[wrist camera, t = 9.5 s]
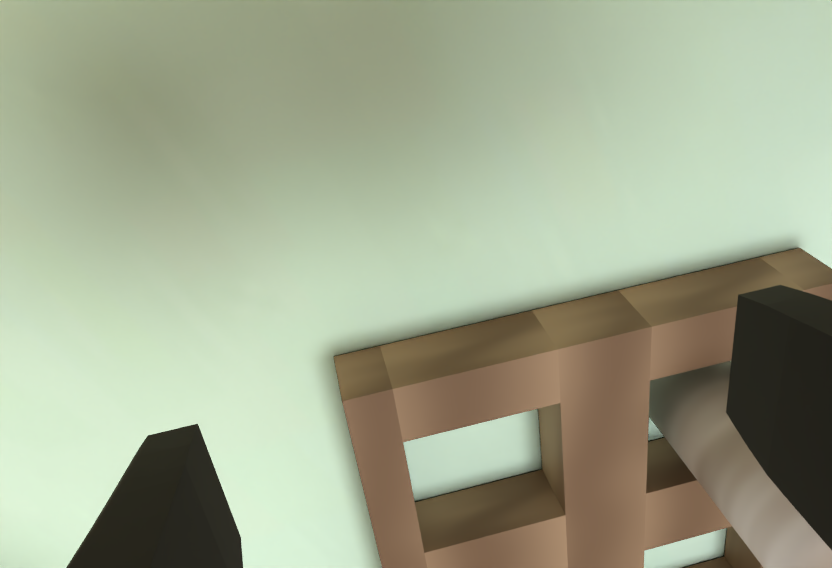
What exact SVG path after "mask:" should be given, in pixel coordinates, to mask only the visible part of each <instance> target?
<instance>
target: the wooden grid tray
mask: <svg viewBox="0 0 832 568" xmlns="http://www.w3.org/2000/svg"><path fill="white" fill-rule="evenodd" d="M777 285H783V286H787V287H790V288H794V289H797V290H801V291H804V292H807V293H811V294H814V295H817V296H820V297H823V298H826V299H829V300H832V269H831V268H830V267H828V266H827V265H825V264H824V263H822V262H820V261H819V260H817V259H816V258H814V257H813V256H811V255H810V254H808V253H807V252H805V251H804V250H802V249H801V248H797V249H793V250H788V251H784V252H780V253H775V254H771V255H767V256H763V257H758V258H754V259H750V260H745V261H741V262H737V263H733V264H728V265H724V266H720V267H715V268H711V269H707V270H703V271H698V272H694V273H690V274H685V275H681V276H677V277H673V278H668V279H664V280H660V281H655V282H651V283H647V284H643V285H638V286H634V287H630V288H626V289H621V290H617V291H613V292H608V293H604V294H600V295H596V296H591V297H587V298H583V299H578V300H574V301H570V302H566V303H561V304H557V305H553V306H548V307H544V308H540V309H536V310H531V311H527V312H523V313H518V314H514V315H510V316H506V317H501V318H497V319H493V320H488V321H484V322H480V323H476V324H471V325H467V326H463V327H458V328H454V329H450V330H446V331H441V332H437V333H433V334H428V335H424V336H420V337H416V338H411V339H407V340H403V341H398V342H394V343H390V344H386V345H381V346H377V347H373V348H368V349H364V350H360V351H356V352H351V353H347V354H343V355H338V356H334V361H335V367H336V372H337V377H338V382H339V388H340V393H341V398H342V403H343V407H344V411H345V415H346V419H347V424H348V428H349V432H350V436H351V440H352V444H353V448H354V453H355V457H356V461H357V465H358V469H359V473H360V477H361V482H362V486H363V490H364V494H365V498H366V502H367V506H368V511H369V515H370V519H371V523H372V527H373V531H374V535H375V540H376V544H377V548H378V552H379V556H380V560H381V564H382V568H644V550H648V549H652V548H655V547H659V546H663V545H666V544H670V543H673V542H677V541H681V540H684V539H688V538H691V537H695V536H699V535H702V534H706V533H710V532H713V531H717V530H720V529H724V528H727V536H726V544H725V553H724V557H721V558H717V559H713V560H710V561H706V562H703V563H699V564H696V565H692V566H688V567H685V568H832V550H831V549H830V548H829V547H828V546H827V544H826V543H825V542H824V541H823V540H822V539H821V538H820V536H819V535H818V534H817V533H816V532H815V531H814V530H813V528H812V527H811V526H810V525H809V524H808V523H807V522H806V520H805V519H804V518H803V517H802V516H801V515H800V513H799V512H798V511H797V510H796V509H795V508H794V506H793V505H792V504H791V503H790V502H789V501H788V499H787V498H786V497H785V496H784V495H783V494H782V492H781V491H780V490H779V489H778V488H777V486H776V485H775V484H774V483H773V482H772V480H771V479H770V478H769V477H768V476H767V474H766V473H765V471H764V470H763V468H762V467H761V466H760V464H759V463H758V461H757V460H756V458H755V457H754V455H753V454H752V452H751V451H750V450H749V448H748V447H747V445H746V443H745V442H744V440H743V439H742V437H741V436H740V434H739V432H738V431H737V429H736V428H735V426H734V424H733V423H732V421H731V420H730V418H729V417H728V415H727V413H726V407H727V397H728V388H729V378H730V368H731V359H732V349H733V340H734V330H735V320H736V311H737V301H738V295H739V294H744V293H748V292H752V291H756V290H760V289H765V288H769V287H773V286H777ZM534 409H538V413H539V428H540V443H541V458H542V470H538V471H534V472H530V473H526V474H523V475H519V476H515V477H511V478H507V479H503V480H499V481H495V482H492V483H488V484H484V485H480V486H476V487H472V488H468V489H465V490H461V491H457V492H453V493H449V494H445V495H441V496H438V497H434V498H430V499H426V500H422V501H418V502H414V497H413V492H412V486H411V481H410V476H409V471H408V466H407V461H406V455H405V450H404V445H403V442H406V441H410V440H414V439H418V438H422V437H426V436H430V435H434V434H438V433H442V432H446V431H450V430H454V429H458V428H462V427H466V426H470V425H474V424H478V423H482V422H486V421H490V420H494V419H498V418H502V417H506V416H510V415H514V414H518V413H522V412H526V411H530V410H534ZM649 417H650V418H651V420H652V421H653V422H654V424H655V425H656V426H657V428H658V429H659V430H660V432H661V433H662V434H663V436H664V437H665V438H662V439H658V440H654V441H650V442H648V423H649Z"/></svg>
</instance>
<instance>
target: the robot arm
mask: <svg viewBox="0 0 832 568" xmlns="http://www.w3.org/2000/svg"><path fill="white" fill-rule="evenodd" d="M726 413H727V415H728V417H729V418H730V420H731V421H732V423H733V424H734V426H735V428H736V429H737V431H738V432H739V434H740V436H741V437H742V439H743V440H744V442H745V443H746V445H747V447H748V448H749V450H750V451H751V452H752V454H753V455H754V457H755V458H756V460H757V461H758V463H759V464H760V466H761V467H762V468H763V470H764V471H765V473H766V474H767V476H768V477H769V478H770V479H771V480H772V482H773V483H774V484H775V485H776V486H777V488H778V489H779V490H780V491H781V492H782V494H783V495H784V496H785V497H786V498H787V499H788V501H789V502H790V503H791V504H792V505H793V506H794V508H795V509H796V510H797V511H798V512H799V513H800V515H801V516H802V517H803V518H804V519H805V520H806V522H807V523H808V524H809V525H810V526H811V527H812V528H813V530H814V531H815V532H816V533H817V534H818V535H819V536H820V538H821V539H822V540H823V541H824V542H825V543H826V544H827V546H828V547H829V548H830V549H831V550H832V300H829V299H826V298H823V297H820V296H817V295H814V294H811V293H807V292H804V291H801V290H797V289H794V288H790V287H787V286H783V285H777V286H773V287H769V288H765V289H760V290H756V291H752V292H748V293H744V294H739V295H738V301H737V311H736V320H735V330H734V340H733V349H732V359H731V368H730V378H729V388H728V397H727V407H726ZM67 568H243V561H242V548H241V537H240V534H239V532H238V529H237V526H236V524H235V521H234V518H233V516H232V513H231V511H230V508H229V505H228V503H227V500H226V497H225V495H224V492H223V489H222V487H221V484H220V482H219V479H218V476H217V474H216V471H215V468H214V466H213V463H212V460H211V458H210V455H209V452H208V450H207V447H206V445H205V442H204V439H203V437H202V434H201V431H200V429H199V426H198V424H195V425H191V426H186V427H182V428H178V429H174V430H170V431H165V432H161V433H157V434H153V435H149V436H147V438H146V439H145V441H144V442H143V443H142V445H141V447H140V448H139V450H138V451H137V453H136V455H135V456H134V458H133V460H132V461H131V463H130V465H129V466H128V468H127V470H126V471H125V473H124V475H123V476H122V478H121V480H120V481H119V483H118V485H117V487H116V488H115V490H114V492H113V493H112V495H111V497H110V498H109V500H108V502H107V503H106V505H105V507H104V508H103V510H102V512H101V513H100V515H99V517H98V518H97V520H96V521H95V523H94V525H93V526H92V528H91V530H90V531H89V533H88V535H87V536H86V538H85V539H84V541H83V542H82V544H81V546H80V547H79V549H78V550H77V552H76V553H75V555H74V557H73V558H72V560H71V561H70V563H69V564H68V566H67Z"/></svg>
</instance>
